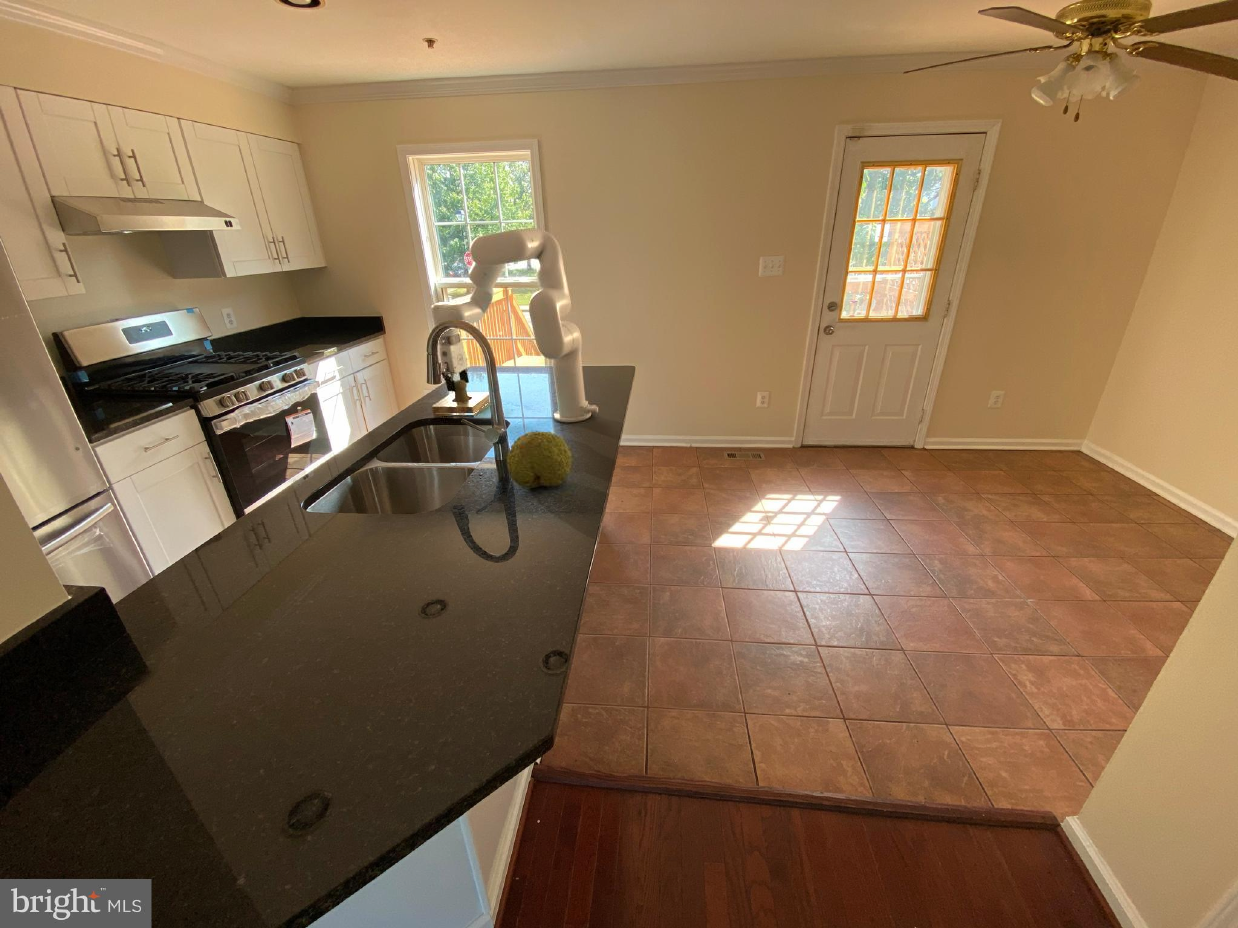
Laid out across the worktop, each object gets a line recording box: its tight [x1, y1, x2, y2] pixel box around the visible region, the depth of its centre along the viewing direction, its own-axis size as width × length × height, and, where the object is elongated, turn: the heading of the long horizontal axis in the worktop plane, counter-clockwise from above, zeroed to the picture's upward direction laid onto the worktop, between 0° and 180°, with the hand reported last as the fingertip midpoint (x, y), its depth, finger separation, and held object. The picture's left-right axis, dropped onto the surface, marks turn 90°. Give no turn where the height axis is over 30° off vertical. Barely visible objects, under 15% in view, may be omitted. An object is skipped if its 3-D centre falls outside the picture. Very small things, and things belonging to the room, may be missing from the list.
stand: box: [431, 391, 491, 418], centre depth 184 cm, size 16×16×4 cm
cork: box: [453, 379, 470, 403], centre depth 183 cm, size 6×6×11 cm
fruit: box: [505, 430, 573, 489], centre depth 125 cm, size 16×14×15 cm
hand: (458, 386), depth 182 cm, fingers open, 9 cm apart
